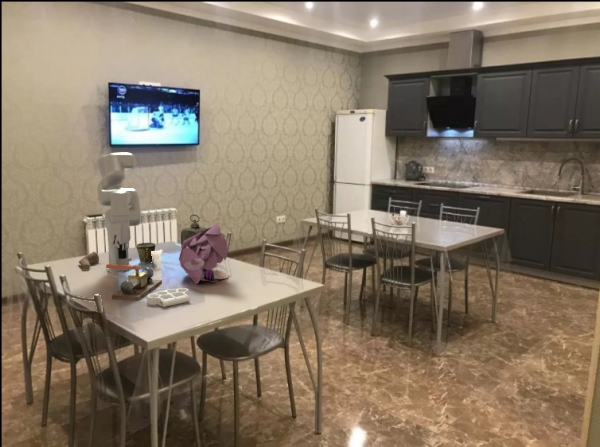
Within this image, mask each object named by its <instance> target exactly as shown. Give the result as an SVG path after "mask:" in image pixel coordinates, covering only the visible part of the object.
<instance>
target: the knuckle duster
mask: <svg viewBox="0 0 600 447" xmlns="http://www.w3.org/2000/svg"><path fill="white" fill-rule="evenodd" d="M189 292H190V291H189V288H186V287H180V288H170V289H169V288H168V289H166V290H159V291H156V292H154V293H148V294H147V295H146V302H147V304H148V305H151V306H153V305H155V306H156V304H158V306H160V307H161V306H163V305H164V306H163V307H162V308H166V307H170V306H175V305H179V304H184V303H189V302H191V297H190V296H189V295H190V294H189Z"/></svg>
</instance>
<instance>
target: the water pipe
mask: <svg viewBox="0 0 600 447" xmlns="http://www.w3.org/2000/svg"><path fill="white" fill-rule="evenodd" d="M154 274H155V273H154V270H153V268H151V267H145V268H143V269H142V270H141V272H140V269H139V270H134V272H132V273H131V274H129V275H127V279H126V280H123V281H122V282H121V283H120V285H119V290H121V291H122V294H135V293H136V292H137V290H136V289H133V288H134V287H139V288H141V287H143V286H144V285H146V284H147V283H151V282H152V280H153V277H154Z"/></svg>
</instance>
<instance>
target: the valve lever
mask: <svg viewBox="0 0 600 447" xmlns="http://www.w3.org/2000/svg"><path fill="white" fill-rule="evenodd" d="M105 268H115V269H130V270H133V271H135V270H139V271H140V269H141V264H131V265H122V264H109V263H107V264H106V265H105Z"/></svg>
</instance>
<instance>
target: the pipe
mask: <svg viewBox="0 0 600 447" xmlns="http://www.w3.org/2000/svg"><path fill="white" fill-rule="evenodd" d="M99 262H100V257H99V255H98V253H97V252H96V251H92V252H90V253H88V254H87V255H85V256H84V257H82V258H81V259H80V260H79V261H78V264H80V266H81V268H82V269H83V270H84V271H88V270H90V269H91V265H93V264H94V265H95V264H98V263H99Z"/></svg>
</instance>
